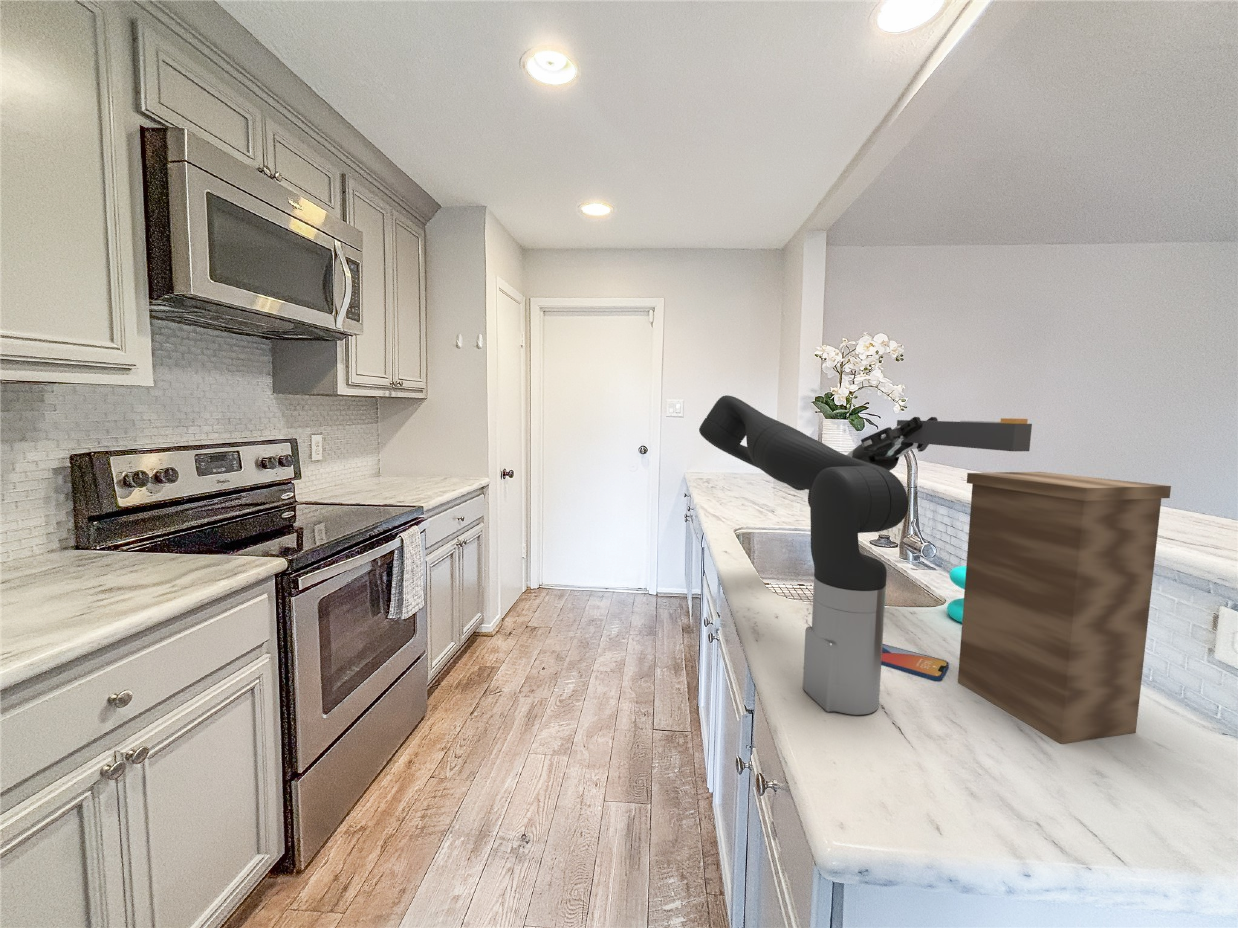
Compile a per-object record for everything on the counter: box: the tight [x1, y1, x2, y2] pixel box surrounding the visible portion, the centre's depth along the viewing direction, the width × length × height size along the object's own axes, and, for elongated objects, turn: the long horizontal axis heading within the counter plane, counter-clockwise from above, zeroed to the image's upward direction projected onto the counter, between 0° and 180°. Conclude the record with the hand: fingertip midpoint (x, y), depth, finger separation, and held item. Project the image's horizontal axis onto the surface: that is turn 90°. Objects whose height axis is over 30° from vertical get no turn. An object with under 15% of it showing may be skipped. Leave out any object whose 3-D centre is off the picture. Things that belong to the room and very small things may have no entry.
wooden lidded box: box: [957, 471, 1172, 745], centre depth 70 cm, size 13×16×32 cm
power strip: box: [896, 417, 1033, 452], centre depth 85 cm, size 3×23×5 cm, turn 12°
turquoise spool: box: [946, 565, 966, 624], centre depth 101 cm, size 10×10×10 cm
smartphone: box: [881, 643, 950, 682], centre depth 85 cm, size 7×15×1 cm, turn 47°
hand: (927, 421), depth 91 cm, fingers closed on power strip, 3 cm apart
